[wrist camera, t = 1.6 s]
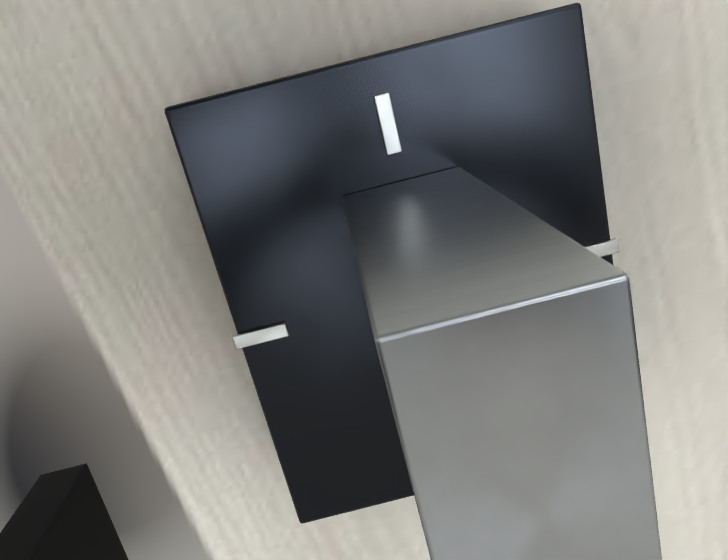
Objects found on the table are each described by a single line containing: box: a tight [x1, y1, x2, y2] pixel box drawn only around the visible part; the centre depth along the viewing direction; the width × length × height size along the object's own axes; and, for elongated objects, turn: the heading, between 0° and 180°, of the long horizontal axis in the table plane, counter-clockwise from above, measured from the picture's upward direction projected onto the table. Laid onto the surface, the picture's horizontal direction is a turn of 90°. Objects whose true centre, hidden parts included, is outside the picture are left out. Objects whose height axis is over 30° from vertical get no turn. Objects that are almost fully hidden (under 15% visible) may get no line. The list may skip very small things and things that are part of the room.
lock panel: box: [165, 3, 619, 523], centre depth 18 cm, size 12×10×3 cm
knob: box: [342, 167, 662, 560], centre depth 12 cm, size 6×3×9 cm, turn 14°
